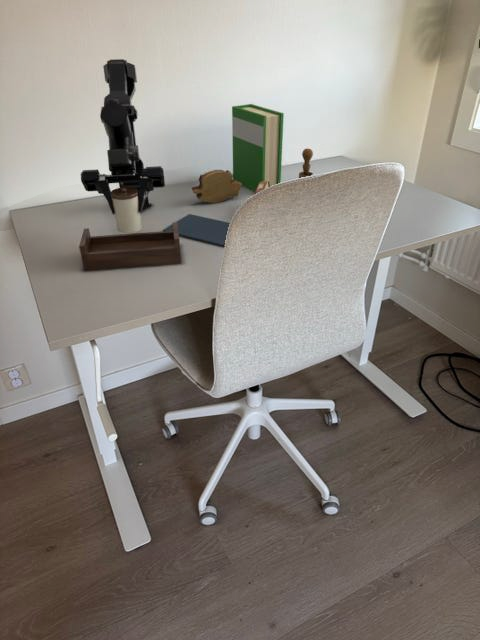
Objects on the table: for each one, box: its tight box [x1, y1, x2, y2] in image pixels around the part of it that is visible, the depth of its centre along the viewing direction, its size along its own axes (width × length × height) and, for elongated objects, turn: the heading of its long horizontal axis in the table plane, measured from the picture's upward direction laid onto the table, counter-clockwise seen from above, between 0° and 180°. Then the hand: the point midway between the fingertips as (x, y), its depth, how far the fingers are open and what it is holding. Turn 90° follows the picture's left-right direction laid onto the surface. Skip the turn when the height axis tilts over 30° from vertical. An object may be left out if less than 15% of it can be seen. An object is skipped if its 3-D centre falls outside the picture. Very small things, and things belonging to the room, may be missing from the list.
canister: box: [110, 187, 143, 234], centre depth 109 cm, size 6×6×10 cm
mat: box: [162, 213, 231, 248], centre depth 129 cm, size 20×13×1 cm, turn 61°
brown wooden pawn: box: [298, 148, 314, 179], centre depth 136 cm, size 7×6×18 cm
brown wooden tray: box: [78, 221, 182, 272], centre depth 115 cm, size 10×23×6 cm, turn 99°
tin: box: [254, 181, 270, 195], centre depth 137 cm, size 15×3×8 cm, turn 168°
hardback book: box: [231, 103, 285, 192], centre depth 153 cm, size 18×7×24 cm, turn 33°
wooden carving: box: [191, 169, 243, 204], centre depth 145 cm, size 16×5×10 cm, turn 120°
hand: (126, 213), depth 108 cm, fingers closed on canister, 6 cm apart
